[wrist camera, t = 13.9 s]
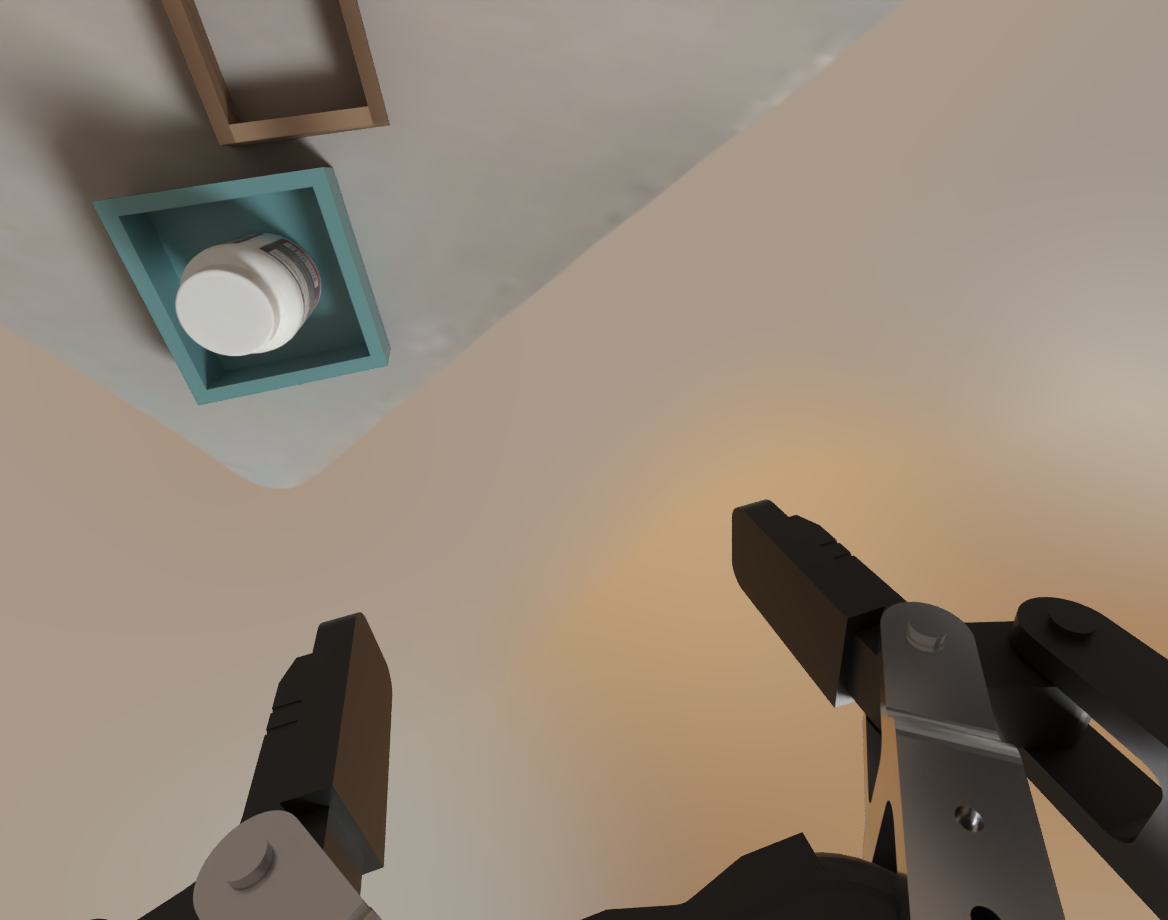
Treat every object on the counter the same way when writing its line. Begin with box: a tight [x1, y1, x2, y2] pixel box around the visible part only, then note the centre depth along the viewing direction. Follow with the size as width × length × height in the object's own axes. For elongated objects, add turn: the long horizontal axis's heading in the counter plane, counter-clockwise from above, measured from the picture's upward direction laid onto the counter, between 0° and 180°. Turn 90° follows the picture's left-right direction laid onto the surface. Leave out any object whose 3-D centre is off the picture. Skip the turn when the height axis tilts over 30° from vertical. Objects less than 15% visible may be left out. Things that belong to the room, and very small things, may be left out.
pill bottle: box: [175, 233, 321, 356], centre depth 29 cm, size 5×5×10 cm
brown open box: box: [161, 0, 390, 147], centre depth 28 cm, size 9×9×2 cm
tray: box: [92, 167, 390, 405], centre depth 32 cm, size 11×11×4 cm
